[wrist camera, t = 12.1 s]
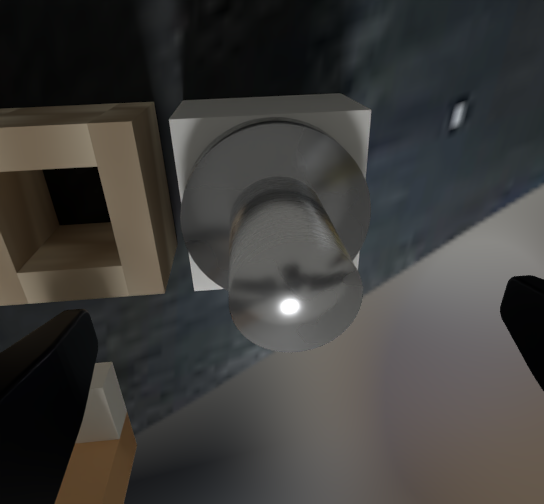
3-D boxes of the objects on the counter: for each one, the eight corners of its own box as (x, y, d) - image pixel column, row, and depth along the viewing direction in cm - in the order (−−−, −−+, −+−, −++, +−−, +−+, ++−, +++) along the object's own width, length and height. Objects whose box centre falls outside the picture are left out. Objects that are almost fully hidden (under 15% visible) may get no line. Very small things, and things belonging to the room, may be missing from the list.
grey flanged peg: (202, 244, 18) (179, 406, 10) (184, 103, 15) (132, 178, 7) (333, 235, 18) (409, 385, 11) (340, 96, 16) (452, 160, 8)
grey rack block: (201, 242, 18) (194, 290, 15) (182, 100, 16) (169, 119, 12) (333, 233, 19) (357, 278, 15) (340, 93, 16) (371, 109, 12)
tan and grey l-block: (76, 451, 16) (13, 622, 12) (42, 367, 14) (-54, 537, 9) (136, 444, 16) (98, 612, 12) (111, 361, 14) (52, 526, 9)
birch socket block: (38, 253, 18) (-9, 306, 15) (-14, 109, 15) (-88, 132, 12) (177, 244, 18) (164, 293, 15) (154, 101, 15) (131, 121, 12)
